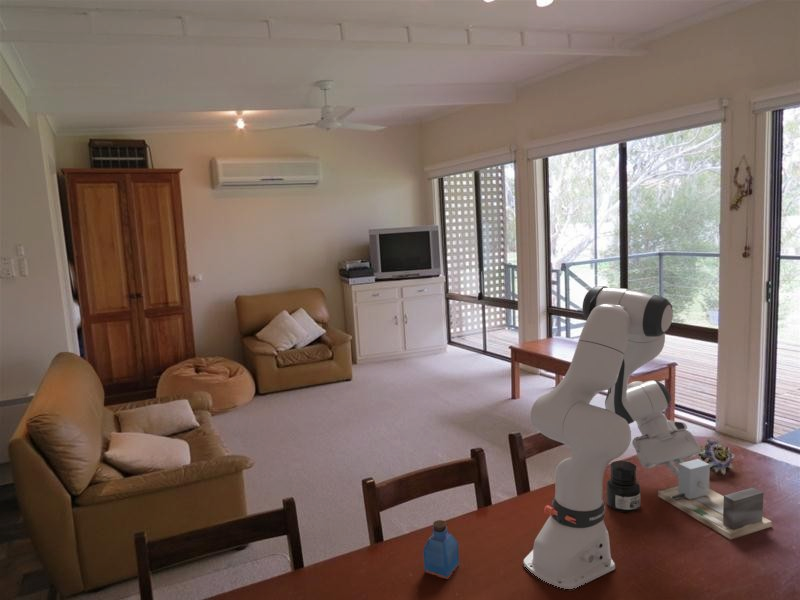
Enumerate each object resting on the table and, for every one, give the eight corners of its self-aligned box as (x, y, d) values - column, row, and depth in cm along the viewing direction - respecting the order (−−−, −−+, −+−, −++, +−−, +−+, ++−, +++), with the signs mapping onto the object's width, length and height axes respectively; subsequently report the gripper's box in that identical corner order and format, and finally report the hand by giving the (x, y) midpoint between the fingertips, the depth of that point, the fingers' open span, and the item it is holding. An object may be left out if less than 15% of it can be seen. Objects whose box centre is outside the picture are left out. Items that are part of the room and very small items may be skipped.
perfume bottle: (447, 580, 131) (445, 533, 129) (424, 572, 134) (422, 527, 132) (459, 565, 136) (457, 520, 134) (436, 558, 139) (434, 514, 138)
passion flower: (721, 489, 174) (713, 468, 168) (690, 470, 183) (682, 449, 177) (744, 465, 176) (737, 443, 170) (713, 447, 185) (705, 425, 179)
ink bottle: (620, 516, 153) (620, 476, 151) (598, 502, 161) (598, 463, 159) (648, 508, 156) (648, 468, 154) (626, 494, 164) (626, 456, 163)
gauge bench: (658, 496, 163) (658, 465, 161) (695, 486, 167) (695, 456, 165) (730, 539, 140) (731, 504, 139) (771, 526, 144) (772, 492, 143)
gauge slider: (667, 496, 158) (667, 466, 157) (697, 487, 162) (698, 458, 160) (682, 505, 153) (683, 474, 152) (713, 496, 157) (714, 466, 155)
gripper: (635, 434, 164) (660, 479, 156) (689, 422, 170) (715, 464, 163) (624, 442, 169) (648, 487, 161) (677, 430, 175) (702, 472, 167)
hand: (682, 475), depth 162 cm, fingers closed
